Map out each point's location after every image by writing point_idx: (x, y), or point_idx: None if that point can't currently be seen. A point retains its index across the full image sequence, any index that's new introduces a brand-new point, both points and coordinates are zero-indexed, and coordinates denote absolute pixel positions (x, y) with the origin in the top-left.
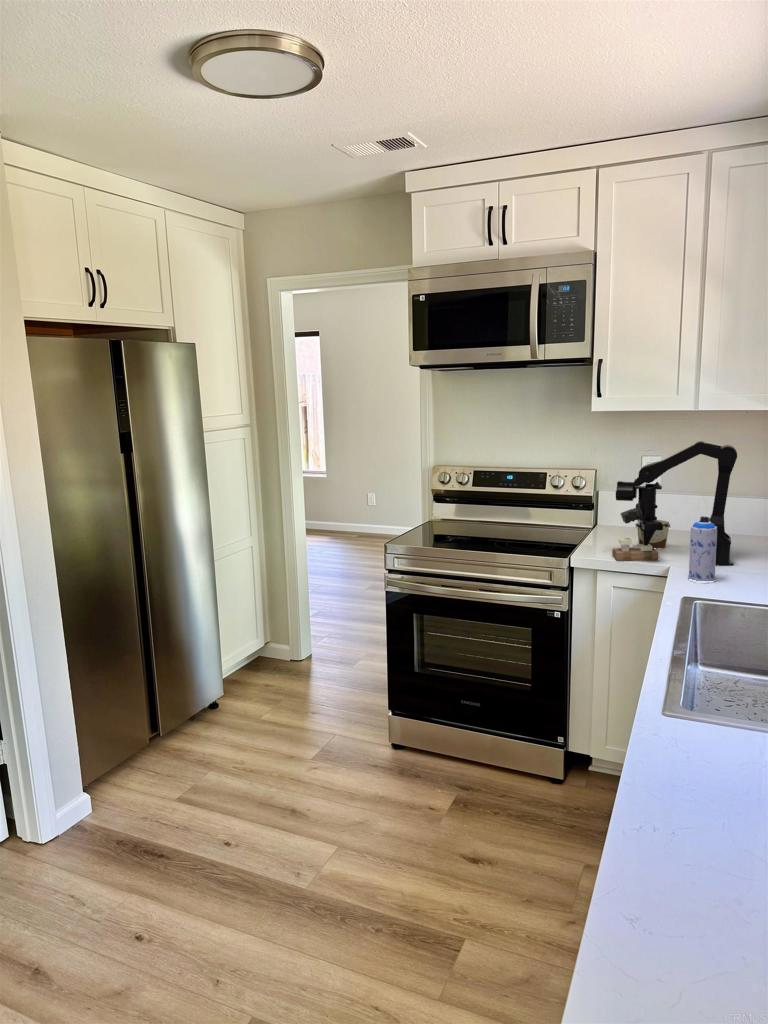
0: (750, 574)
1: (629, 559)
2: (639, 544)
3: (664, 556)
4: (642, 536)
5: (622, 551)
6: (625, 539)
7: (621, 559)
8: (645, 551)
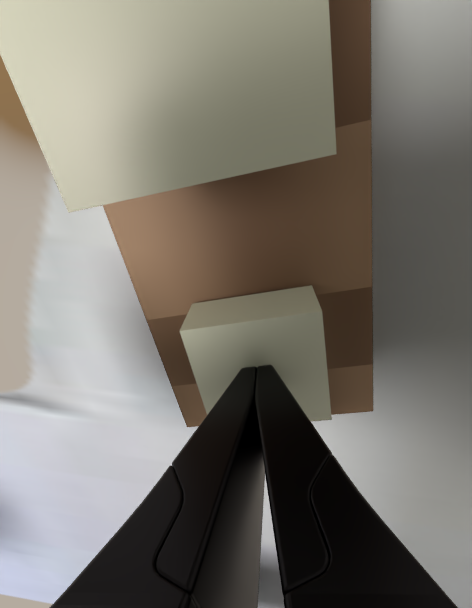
0: None
1: None
2: (296, 317)
3: (331, 422)
4: (265, 451)
5: None
6: (71, 13)
7: None
8: None
